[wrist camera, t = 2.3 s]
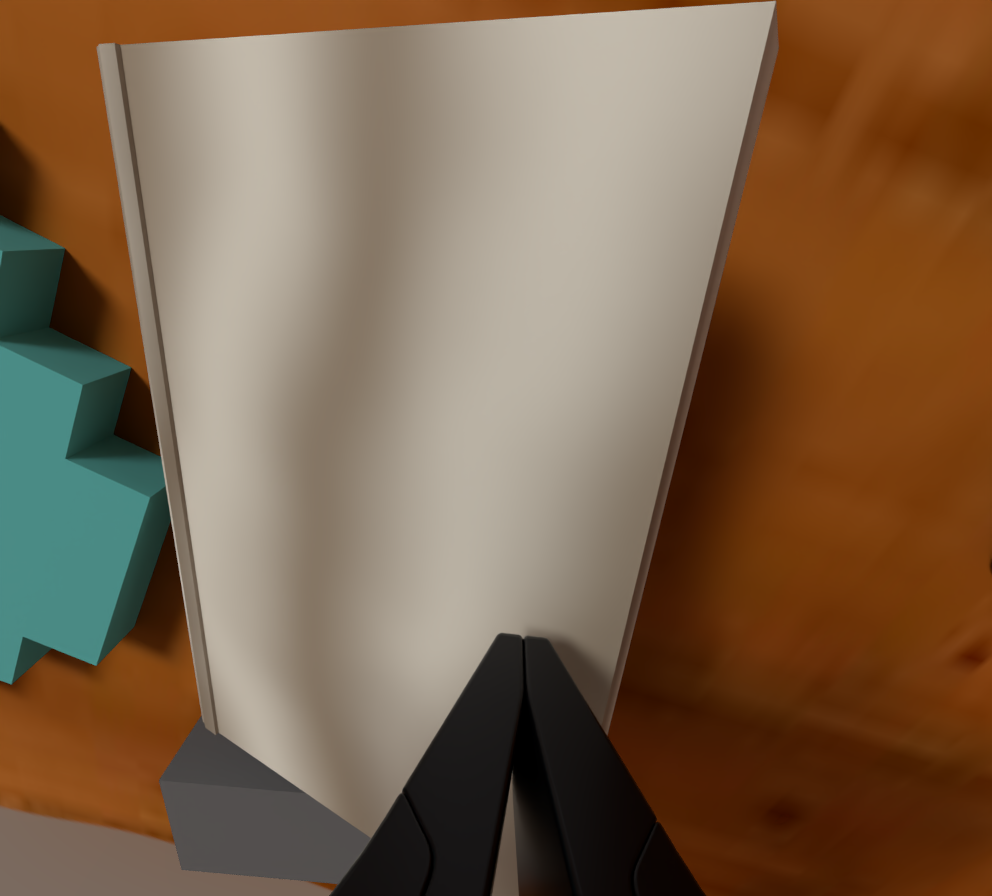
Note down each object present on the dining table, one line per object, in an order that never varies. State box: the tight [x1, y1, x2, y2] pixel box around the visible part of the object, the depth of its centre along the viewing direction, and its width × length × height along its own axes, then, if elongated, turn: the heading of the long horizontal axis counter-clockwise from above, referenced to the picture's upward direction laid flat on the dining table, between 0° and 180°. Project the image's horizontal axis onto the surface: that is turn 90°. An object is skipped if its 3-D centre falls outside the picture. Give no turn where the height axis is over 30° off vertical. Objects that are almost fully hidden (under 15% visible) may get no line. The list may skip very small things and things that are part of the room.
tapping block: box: [159, 716, 371, 884], centre depth 19 cm, size 8×4×3 cm, turn 86°
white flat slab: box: [97, 1, 779, 896], centre depth 12 cm, size 12×18×2 cm, turn 175°
